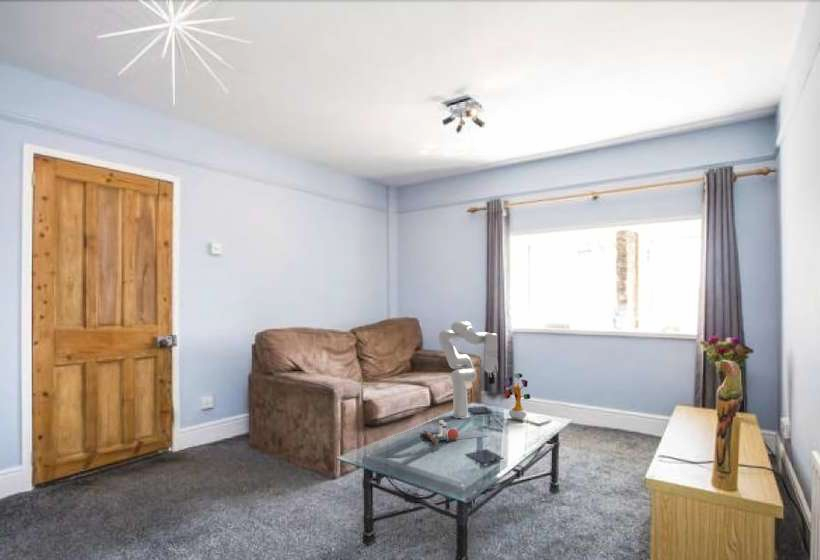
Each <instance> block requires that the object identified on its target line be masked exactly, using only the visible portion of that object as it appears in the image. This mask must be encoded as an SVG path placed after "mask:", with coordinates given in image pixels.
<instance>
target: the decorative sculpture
mask: <svg viewBox="0 0 820 560" xmlns="http://www.w3.org/2000/svg"><path fill="white" fill-rule="evenodd" d="M514 378H516V379H517V380H519V379H520V378H523V374H522V373H515V374H514ZM520 381H521V383H522V386H519V384H517V385H516V384H515V383H514V382H513V377H506V378H504V382H503V386H504V387H505V388H508V389H507V390H506V392H505V393H504V398H505V399H506V400H507V399H510V398H511V395H513V394H514V399H515V405H514V407H512V408H510V409H509V410H508V414H509V417H510V418H512V419H513V420H515V419H516V421H523V420H524V419H525V418H526V417H527V411H526V410H525V409H524V408H523V406H522V403H521V399H522V398H523V400H529V399H531V395H530V393H525V394H523V395H522V393H521V392H522V391H521V390H522V389H523V388H526V387H528V382H529V381H528V380H527V379H521V380H520ZM511 386H512V389H511V388H509V387H511Z"/></svg>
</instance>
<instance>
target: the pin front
mask: <svg viewBox="0 0 820 560" xmlns="http://www.w3.org/2000/svg"><path fill="white" fill-rule="evenodd" d="M432 435H433V436H435V437H436V438H438V437H442V434H439V433H437V434H436V433H435V434H432ZM447 437H448V432H447Z"/></svg>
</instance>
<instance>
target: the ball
mask: <svg viewBox="0 0 820 560" xmlns="http://www.w3.org/2000/svg"><path fill="white" fill-rule="evenodd" d="M447 433H448V437H449V438H450V439H451V441H456V440H455V439H456V438H457V437H458V433H459V432H458V430H457V429H455V428H450V429H448V430H447Z"/></svg>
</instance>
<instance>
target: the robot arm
mask: <svg viewBox="0 0 820 560" xmlns="http://www.w3.org/2000/svg"><path fill="white" fill-rule="evenodd" d="M450 326H451V327H450V328H449V329H443V330H441V331H439V333H438V342H439V345H440V347H441V349H442V351H443V352H444V356H445V357H446V361H447V363H448V366H449V367H450V368H451V369H454V370H453V371H452V372H451V382H452V395H453V396H452V398H453V399H452V400H453V401H452V403H453V407H452V408H453V409H452V410H453V412H452V413H450V416H453V417H455V418H454V419H457V418H461V419H460V420H462V419H463V420H466V419H469V418H470V417H471V415H470V413H468V411H469V410H468V407H469V406H468V402H469V401H468V387H467V386H466V383H473V382H475V381H476V379H477V372H476V369H475V367H474V364H473V362H472V360H471V358H470V355H468V354H466V353H459V352H458V351H457V348H456V347H455V346H454V344H452V343H451V342H459V341H462V340H465V342H466V343H469V344H471V345H476V346H477V345H484V363H483V364H484V365H483V370H484V372H486V373H487V377H488V384H489V385H494V384H495V378H496V376H497V373H498V372H499V361H498V334H497V333H495V332H492V333H491V332H488V331H479V332H474V327H473V326H472V324H471V322H470V321H468V320H461V321H459V320H458V321H455V322H453V323H452V324H451V325H450ZM453 417H452V418H453Z"/></svg>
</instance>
